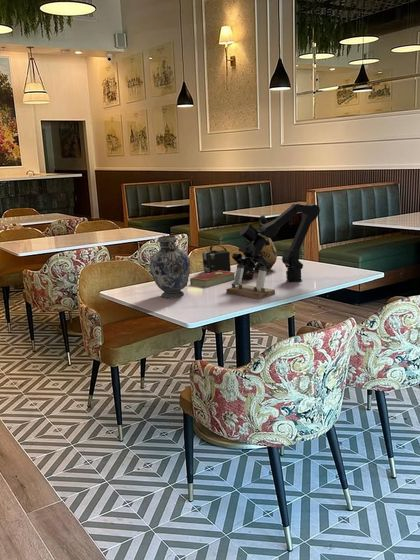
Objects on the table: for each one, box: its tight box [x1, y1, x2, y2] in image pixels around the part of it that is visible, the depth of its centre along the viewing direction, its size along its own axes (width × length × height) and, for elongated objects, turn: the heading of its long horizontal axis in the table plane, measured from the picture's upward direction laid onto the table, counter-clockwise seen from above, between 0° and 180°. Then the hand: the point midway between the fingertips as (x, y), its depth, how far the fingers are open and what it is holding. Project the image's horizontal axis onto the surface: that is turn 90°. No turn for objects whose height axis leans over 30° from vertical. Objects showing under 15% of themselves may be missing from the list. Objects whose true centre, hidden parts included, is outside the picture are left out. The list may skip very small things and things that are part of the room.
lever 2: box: [255, 267, 268, 289], centre depth 236 cm, size 2×3×9 cm, turn 41°
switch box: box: [226, 282, 276, 300], centre depth 242 cm, size 11×20×4 cm, turn 42°
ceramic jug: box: [254, 214, 278, 272], centre depth 292 cm, size 17×15×30 cm
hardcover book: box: [189, 270, 236, 288], centre depth 273 cm, size 12×21×4 cm, turn 134°
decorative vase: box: [149, 234, 191, 299], centre depth 247 cm, size 21×19×28 cm
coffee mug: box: [237, 263, 261, 281], centre depth 273 cm, size 12×9×10 cm
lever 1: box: [233, 263, 245, 286], centre depth 246 cm, size 2×3×9 cm, turn 42°
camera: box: [202, 244, 232, 274], centre depth 299 cm, size 11×14×15 cm
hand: (241, 274), depth 247 cm, fingers closed
